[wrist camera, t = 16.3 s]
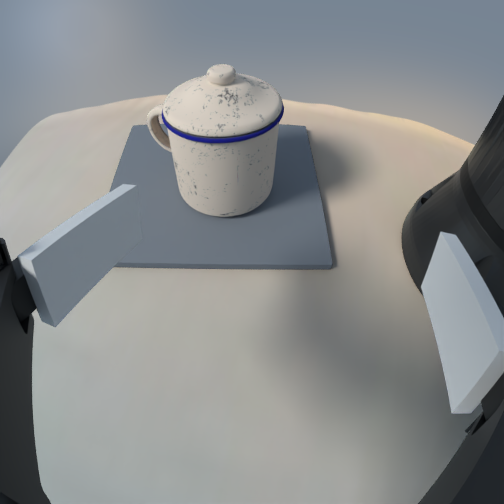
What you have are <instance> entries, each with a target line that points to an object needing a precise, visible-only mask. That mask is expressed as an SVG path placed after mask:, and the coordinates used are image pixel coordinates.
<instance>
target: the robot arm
mask: <svg viewBox="0 0 504 504" xmlns="http://www.w3.org/2000/svg"><path fill="white" fill-rule="evenodd" d="M141 240H142V232H141V223H140V214H139V204H138V193H137V185H129V184H122V185H121V186H119V187H117V188H116V189H114V190H113V191H111V192H109V193H108V194H106V195H104V196H103V197H101V198H100V199H98V200H97V201H95V202H93V203H92V204H90V205H89V206H87V207H86V208H84V209H83V210H81V211H80V212H78V213H77V214H75V215H74V216H72V217H71V218H69V219H68V220H66V221H65V222H63V223H62V224H61V225H59V226H58V227H56V228H55V229H53V230H52V231H51V232H49V233H48V234H46V235H45V236H44V237H42V238H41V239H40V240H38V241H37V242H36V243H34V244H33V245H32V246H30V247H29V248H28V249H26V250H25V251H24V252H22V253H21V254H20V255H18V257H17V258H16V259H15V260H13V261H11V258H10V255H9V252H8V249H7V246H6V242H5V240H4V239H3V238H0V504H51V503H50V501H49V499H48V498H47V496H46V494H45V493H44V491H43V489H42V486H41V483H40V477H39V470H38V463H37V456H36V447H35V437H34V425H33V408H32V348H33V331H34V319H33V316H32V314H31V313H32V312H33V311H34V310H35V309H36V308H37V311H38V313H39V316H40V318H41V320H42V321H43V322H45V323H47V324H49V325H52V326H54V327H56V326H57V325H58V324H59V323H60V322H61V321H62V320H63V319H64V317H65V316H66V315H67V314H68V313H69V312H70V311H71V310H72V309H73V308H74V307H75V306H76V305H77V304H78V303H79V301H80V300H81V299H82V298H83V297H84V296H85V295H86V294H87V293H88V292H89V291H90V290H91V289H92V288H93V287H94V286H95V285H96V284H97V283H98V282H99V281H100V280H101V279H102V278H103V277H104V276H105V275H106V274H107V273H108V272H109V271H110V270H111V269H112V268H113V267H114V266H115V265H116V264H117V263H118V262H119V261H120V260H121V259H122V258H123V257H124V256H125V255H126V254H127V253H128V252H129V251H130V250H131V249H132V248H133V247H134V246H135V245H137V244H138V243H139V242H140V241H141ZM402 249H403V254H404V258H405V262H406V265H407V268H408V270H409V272H410V275H411V277H412V279H413V281H414V283H415V284H416V286H417V288H418V289H419V291H420V292H421V294H422V295H423V296H424V299H425V302H426V305H427V309H428V312H429V316H430V319H431V323H432V326H433V330H434V334H435V338H436V341H437V345H438V349H439V354H440V358H441V362H442V367H443V371H444V376H445V381H446V386H447V391H448V396H449V401H450V407H451V413H452V414H469V413H472V412H473V410H474V409H475V408H476V407H477V406H478V405H479V404H480V402H481V403H482V407H483V412H482V414H481V415H480V416H479V417H478V418H477V419H476V420H475V421H474V422H473V423H472V424H471V425H470V426H469V427H468V428H467V429H466V430H465V431H466V432H469V431H470V432H469V433H468V435H467V436H466V438H465V440H464V441H463V443H462V444H461V446H460V448H459V449H458V451H457V452H456V454H455V455H454V457H453V458H452V460H451V461H450V462H449V464H448V465H447V467H446V468H445V470H444V471H443V472H442V474H441V475H440V476H439V478H438V479H437V480H436V482H435V483H434V484H433V486H432V487H431V488H430V490H429V491H428V492H427V493H426V495H425V496H424V497H423V498H422V499H421V501H420V502H419V503H418V504H504V96H503V98H502V100H501V101H500V103H499V105H498V107H497V109H496V111H495V112H494V114H493V116H492V118H491V119H490V121H489V123H488V125H487V126H486V128H485V130H484V131H483V133H482V135H481V137H480V138H479V140H478V141H477V143H476V145H475V146H474V148H473V150H472V151H471V153H470V155H469V156H468V158H467V159H466V161H465V162H464V164H463V165H462V167H461V168H460V170H458V171H457V172H456V173H454V174H453V175H451V176H450V177H448V178H447V179H445V180H444V181H442V182H441V183H439V184H438V185H436V186H435V187H433V188H432V189H431V190H429V191H427V192H426V193H424V194H423V195H422V196H421V197H420V198H419V199H418V200H417V201H416V203H415V204H414V206H413V207H412V209H411V210H410V212H409V213H408V215H407V216H406V219H405V221H404V224H403V228H402Z"/></svg>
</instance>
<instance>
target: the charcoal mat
mask: <svg viewBox="0 0 504 504" xmlns="http://www.w3.org/2000/svg"><path fill="white" fill-rule="evenodd" d="M160 125H161V127H162V129H163V131H164V132H165V133H166V134H167V135H168V129H167V127H166V125H165V124H160ZM168 136H169V135H168ZM122 184H129V185H137V193H138V204H139V214H140V223H141V232H142V240H141V241H140V242H139V243H138V244H137V245H135V246H134V247H133V248H132V249H131V250H130V251H129V252H128V253H127V254H126V255H125V256H124V257H123V258H122V259H121V260H120V261H119V262H118V263H117V264H116V265H115V266H114V267H138V268H194V269H330V268H331V267H332V265H333V264H332V258H331V252H330V246H329V240H328V234H327V228H326V223H325V217H324V212H323V206H322V201H321V196H320V191H319V186H318V181H317V176H316V171H315V167H314V162H313V157H312V153H311V148H310V144H309V140H308V135H307V131H306V127H305V126H297V125H281V124H279V129H278V139H277V148H276V158H275V167H274V177H273V185H272V189H271V192H270V194H269V195H268V197H267V198H266V200H265V201H264V202H263V203H262V204H261V205H259V206H258V207H256V208H255V209H253V210H251V211H249V212H247V213H244V214H241V215H236V216H229V217H218V216H211V215H207V214H204V213H201V212H199V211H197V210H195V209H193V208H192V207H191V206H189V205H188V204H187V203H186V202H185V200H184V199H183V197H182V196H181V193H180V190H179V186H178V181H177V176H176V172H175V166H174V161H173V156H172V152H169V151H167V150H166V149H164V148H163V147H161V146H160V145H159V144H158V143H157V142H156V141H155V139H154V138H153V136H152V135H151V133H150V131H149V128H148V125H136V126H133V127H132V129H131V132H130V134H129V137H128V140H127V142H126V145H125V148H124V151H123V153H122V156H121V159H120V162H119V165H118V167H117V170H116V173H115V176H114V179H113V183H112V186H111V189H110V192H111V191H113V190H114V189H116V188H117V187H119V186H121V185H122Z"/></svg>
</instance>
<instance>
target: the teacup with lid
mask: <svg viewBox="0 0 504 504" xmlns="http://www.w3.org/2000/svg"><path fill="white" fill-rule="evenodd" d="M283 112H284V106H283V102H282V99H281V97H280V95H279V93H278V92H277V91H276V90H275V88H273V87H272V86H271V85H270V84H268V83H267V82H265V81H263V80H261V79H258V78H256V77H252V76H248V75H243V74H236V71H235V69H234V68H233V67H232V66H230V65H225V64H219V65H215V66H212V67H211V68H210V69H209V70H208V71H207V75H205V76H200V77H197V78H194V79H191V80H189V81H187V82H184V83H183V84H181V85H179V86H178V87H176V88H175V89H174V90H173V91H172V92H171V93H170V94H169V95H168V96H167V98H166V100H165V102H164V104H160V105H157V106H156V107H154V108H153V109H152V110H151V111H150V112H149V114H148V116H147V125H148V128H149V131H150V133H151V135H152V136H153V138H154V139H155V141H156V142H157V143H158V144H159V145H160V146H161V147H163V148H164V149H166V150H167V151H169V152H172V156H173V161H174V166H175V172H176V176H177V181H178V186H179V190H180V193H181V196H182V197H183V199H184V200H185V202H186V203H187V204H188V205H189V206H191V207H192V208H193V209H195V210H197V211H199V212H201V213H204V214H207V215H211V216H218V217H229V216H236V215H241V214H244V213H247V212H249V211H251V210H253V209H255V208H256V207H258V206H259V205H261V204H262V203H263V202H264V201H265V200H266V198H267V197H268V195H269V194H270V192H271V189H272V185H273V177H274V167H275V158H276V148H277V139H278V129H279V121H280V120H281V118H282V116H283ZM158 115H162V119H163V122H164V124H165V125H166V127H167V129H168V135H169V136H168V135H167V134H166V133H165V132H164V131H163V129H162V127H161V125H160V123H159V119H158Z"/></svg>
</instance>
